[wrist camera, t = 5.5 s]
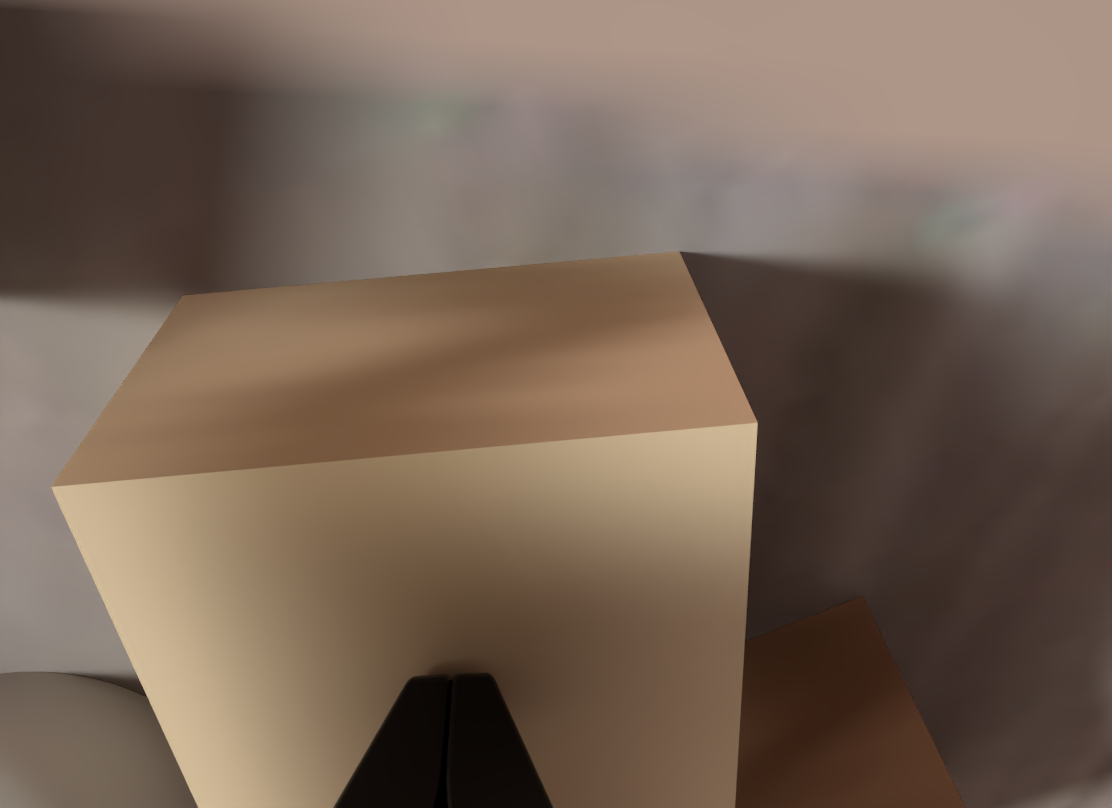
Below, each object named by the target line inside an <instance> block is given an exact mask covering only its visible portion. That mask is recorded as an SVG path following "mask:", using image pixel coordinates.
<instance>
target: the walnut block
mask: <svg viewBox="0 0 1112 808" xmlns="http://www.w3.org/2000/svg"><path fill="white" fill-rule="evenodd" d="M735 808H966V807H965V805H964V803H963V801H962V799H961V797H960V795H959V793H958V791H957V789H956V787H955V785H954V783H953V781H952V779H951V777H950V774H949V772H948V770H947V768H946V766H945V764H944V762H943V760H942V758H941V756H940V754H939V752H938V750H937V748H936V746H935V744H934V742H933V740H932V738H931V736H930V733H929V731H928V729H927V727H926V725H925V723H924V721H923V719H922V717H921V715H920V713H919V711H918V709H917V707H916V705H915V703H914V701H913V699H912V697H911V695H910V692H909V690H908V688H907V686H906V684H905V682H904V680H903V678H902V676H901V674H900V672H899V670H898V668H897V666H896V664H895V662H894V660H893V658H892V656H891V653H890V651H889V649H888V647H887V645H886V643H885V641H884V639H883V637H882V635H881V633H880V631H879V629H878V627H877V625H876V623H875V621H874V619H873V617H872V615H871V612H870V610H869V608H868V606H867V604H866V602H865V600H864V598H863V596H862V597H859V598H856V599H854V600H851V601H849V602H846V603H843V604H841V605H838V606H835V607H833V608H830V609H828V610H825V611H822V612H820V613H817V614H815V615H812V616H809V617H807V618H804V619H802V620H799V621H796V622H794V623H791V624H789V625H786V626H783V627H781V628H778V629H775V630H773V631H770V632H768V633H765V634H762V635H760V636H757V637H755V638H752V639H749V640H747V641H745V647H744V663H743V680H742V697H741V714H740V731H739V748H738V765H737V782H736V799H735Z"/></svg>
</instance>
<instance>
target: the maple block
mask: <svg viewBox="0 0 1112 808" xmlns="http://www.w3.org/2000/svg"><path fill="white" fill-rule="evenodd" d="M757 426H758V422H757V420H756V418H755V416H754V414H753V411H752V409H751V407H750V405H749V403H748V400H747V398H746V396H745V394H744V392H743V389H742V387H741V385H740V383H739V381H738V379H737V376H736V374H735V372H734V370H733V368H732V365H731V363H730V361H729V359H728V357H727V355H726V352H725V350H724V348H723V346H722V344H721V341H720V339H719V337H718V335H717V333H716V330H715V328H714V326H713V324H712V322H711V320H710V317H709V315H708V313H707V311H706V309H705V306H704V304H703V302H702V300H701V298H700V295H699V293H698V291H697V289H696V287H695V285H694V282H693V280H692V278H691V276H690V274H689V271H688V269H687V267H686V265H685V263H684V261H683V258H682V256H681V254H680V252H668V253H657V254H646V255H634V256H623V257H612V258H600V259H589V260H578V261H567V262H555V263H544V264H533V265H521V266H510V267H499V268H488V269H476V270H465V271H454V272H443V273H431V274H420V275H409V276H397V277H386V278H375V279H364V280H352V281H341V282H330V283H318V284H307V285H296V286H285V287H273V288H262V289H251V290H239V291H228V292H217V293H206V294H194V295H183V296H182V297H181V299H180V300H179V302H178V303H177V305H176V306H175V307H174V309H173V310H172V312H171V313H170V315H169V316H168V318H167V319H166V321H165V322H164V323H163V325H162V326H161V328H160V329H159V331H158V332H157V334H156V335H155V337H154V338H153V339H152V341H151V342H150V344H149V345H148V347H147V348H146V350H145V351H144V353H143V354H142V355H141V357H140V358H139V360H138V361H137V363H136V364H135V366H134V367H133V369H132V370H131V371H130V373H129V374H128V376H127V377H126V379H125V380H124V382H123V383H122V385H121V386H120V387H119V389H118V390H117V392H116V393H115V395H114V396H113V398H112V399H111V401H110V402H109V403H108V405H107V406H106V408H105V409H104V411H103V412H102V414H101V415H100V417H99V418H98V419H97V421H96V422H95V424H94V425H93V427H92V428H91V430H90V431H89V433H88V434H87V435H86V437H85V438H84V440H83V441H82V443H81V444H80V446H79V447H78V449H77V450H76V451H75V453H74V454H73V456H72V457H71V459H70V460H69V462H68V463H67V464H66V466H65V467H64V469H63V470H62V472H61V473H60V475H59V476H58V478H57V479H56V480H55V482H54V483H53V485H52V486H51V488H52V490H53V492H54V495H55V497H56V499H57V501H58V503H59V506H60V508H61V510H62V512H63V514H64V516H65V519H66V521H67V523H68V525H69V527H70V529H71V532H72V534H73V536H74V538H75V540H76V543H77V545H78V547H79V549H80V551H81V553H82V556H83V558H84V560H85V562H86V564H87V567H88V569H89V571H90V573H91V575H92V577H93V580H94V582H95V584H96V586H97V588H98V590H99V593H100V595H101V597H102V599H103V601H104V604H105V606H106V608H107V610H108V612H109V614H110V617H111V619H112V621H113V623H114V625H115V628H116V630H117V632H118V634H119V636H120V638H121V641H122V643H123V645H124V647H125V649H126V651H127V654H128V656H129V658H130V660H131V662H132V665H133V667H134V669H135V671H136V673H137V675H138V678H139V680H140V682H141V684H142V686H143V689H144V691H145V693H146V695H147V697H148V699H149V702H150V704H151V706H152V708H153V710H154V713H155V715H156V717H157V719H158V721H159V723H160V726H161V728H162V730H163V732H164V734H165V736H166V739H167V741H168V743H169V745H170V747H171V750H172V752H173V754H174V756H175V758H176V760H177V763H178V765H179V767H180V769H181V771H182V774H183V776H184V778H185V780H186V782H187V784H188V787H189V789H190V791H191V793H192V795H193V797H194V800H195V802H196V804H197V806H198V808H333V807H334V805H335V803H336V802H337V800H338V798H339V796H340V795H341V793H342V791H343V790H344V788H345V786H346V784H347V783H348V781H349V779H350V778H351V776H352V774H353V772H354V771H355V769H356V767H357V766H358V764H359V762H360V760H361V759H362V757H363V755H364V754H365V752H366V750H367V749H368V747H369V745H370V743H371V742H372V740H373V738H374V737H375V735H376V733H377V731H378V730H379V728H380V726H381V725H382V723H383V721H384V719H385V718H386V716H387V714H388V713H389V711H390V709H391V707H392V706H393V704H394V702H395V701H396V699H397V697H398V695H399V694H400V692H401V690H402V689H403V687H404V685H405V684H406V682H407V681H408V680H409V679H410V678H411V677H413V676H420V675H447V676H448V677H449V678H450V679H451V681H452V678H453V677H454V676H455V675H457V674H465V673H490V674H491V675H492V676H493V677H494V678H495V680H496V682H497V684H498V687H499V689H500V691H501V693H502V695H503V698H504V700H505V702H506V704H507V706H508V709H509V711H510V713H511V715H512V717H513V720H514V722H515V724H516V726H517V728H518V731H519V733H520V735H521V737H522V739H523V742H524V744H525V746H526V748H527V750H528V753H529V755H530V757H531V759H532V761H533V764H534V766H535V768H536V770H537V772H538V775H539V777H540V779H541V781H542V783H543V786H544V788H545V790H546V792H547V794H548V797H549V799H550V801H551V803H552V805H553V808H735V799H736V782H737V765H738V748H739V731H740V714H741V697H742V680H743V663H744V647H745V630H746V613H747V596H748V579H749V562H750V545H751V528H752V511H753V494H754V477H755V460H756V443H757Z"/></svg>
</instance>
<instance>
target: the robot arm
mask: <svg viewBox="0 0 1112 808" xmlns="http://www.w3.org/2000/svg"><path fill="white" fill-rule="evenodd" d="M333 808H553V805H552V803H551V801H550V799H549V797H548V794H547V792H546V790H545V788H544V786H543V783H542V781H541V779H540V777H539V775H538V772H537V770H536V768H535V766H534V764H533V761H532V759H531V757H530V755H529V753H528V750H527V748H526V746H525V744H524V742H523V739H522V737H521V735H520V733H519V731H518V728H517V726H516V724H515V722H514V720H513V717H512V715H511V713H510V711H509V709H508V706H507V704H506V702H505V700H504V698H503V695H502V693H501V691H500V689H499V687H498V684H497V682H496V680H495V678H494V677H493V676H492V675H491V674H490V673H465V674H457V675H455V676H454V677H453V678H452V681H451V679H450V678H449V677H448V676H447V675H420V676H413V677H411V678H410V679H409V680H408V681H407V682H406V684H405V685H404V687H403V689H402V690H401V692H400V694H399V695H398V697H397V699H396V701H395V702H394V704H393V706H392V707H391V709H390V711H389V713H388V714H387V716H386V718H385V719H384V721H383V723H382V725H381V726H380V728H379V730H378V731H377V733H376V735H375V737H374V738H373V740H372V742H371V743H370V745H369V747H368V749H367V750H366V752H365V754H364V755H363V757H362V759H361V760H360V762H359V764H358V766H357V767H356V769H355V771H354V772H353V774H352V776H351V778H350V779H349V781H348V783H347V784H346V786H345V788H344V790H343V791H342V793H341V795H340V796H339V798H338V800H337V802H336V803H335V805H334V807H333Z"/></svg>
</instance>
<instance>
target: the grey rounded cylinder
mask: <svg viewBox="0 0 1112 808" xmlns="http://www.w3.org/2000/svg"><path fill="white" fill-rule="evenodd" d="M0 808H198V806H197V804H196V802H195V800H194V797H193V795H192V793H191V791H190V789H189V787H188V784H187V782H186V780H185V778H184V776H183V774H182V771H181V769H180V767H179V765H178V763H177V760H176V758H175V756H174V754H173V752H172V750H171V747H170V745H169V743H168V741H167V739H166V736H165V734H164V732H163V730H162V728H161V726H160V723H159V721H158V719H157V717H156V715H155V713H154V710H153V708H152V706H151V704H150V702H149V699H148V698H147V697H145V696H143V695H140V694H138V693H136V692H134V691H131V690H129V689H126V688H123V687H120V686H117V685H114V684H111V683H108V682H104V681H100V680H96V679H92V678H88V677H82V676H76V675H70V674H63V673H51V672H14V673H3V674H0Z"/></svg>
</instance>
